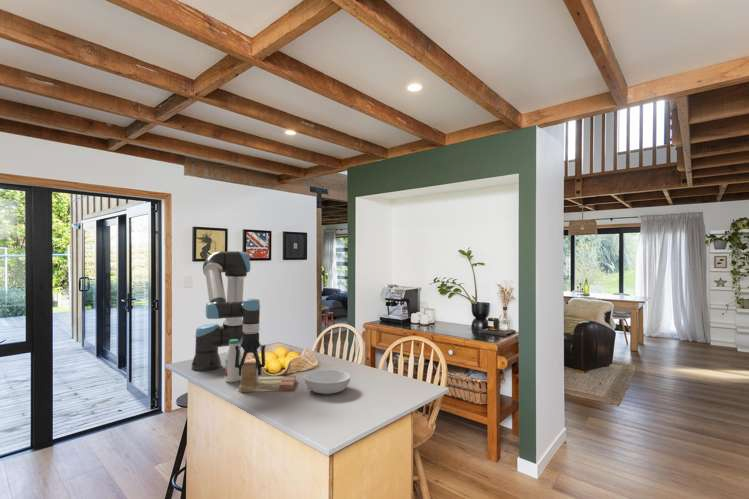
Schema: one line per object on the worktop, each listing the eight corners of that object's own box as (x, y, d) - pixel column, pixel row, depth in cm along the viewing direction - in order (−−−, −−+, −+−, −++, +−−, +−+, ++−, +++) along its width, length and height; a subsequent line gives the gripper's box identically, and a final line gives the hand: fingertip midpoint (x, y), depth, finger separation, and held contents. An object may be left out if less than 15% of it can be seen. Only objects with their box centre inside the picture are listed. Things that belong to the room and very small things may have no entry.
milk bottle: (244, 378, 195) (244, 338, 196) (237, 383, 187) (237, 341, 188) (229, 377, 196) (230, 338, 196) (221, 382, 188) (222, 341, 189)
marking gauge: (244, 385, 182) (245, 362, 183) (257, 384, 183) (258, 361, 183) (240, 390, 174) (240, 366, 175) (254, 390, 175) (254, 366, 175)
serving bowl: (343, 400, 166) (343, 384, 166) (297, 396, 170) (297, 381, 170) (355, 385, 186) (355, 371, 186) (313, 382, 190) (314, 368, 190)
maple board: (246, 382, 189) (246, 376, 189) (295, 381, 191) (295, 376, 192) (238, 391, 175) (238, 386, 175) (292, 390, 178) (292, 385, 178)
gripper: (227, 334, 176) (226, 385, 175) (270, 333, 178) (269, 384, 177) (232, 331, 183) (231, 380, 183) (273, 330, 185) (272, 379, 184)
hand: (249, 382), depth 180 cm, fingers closed on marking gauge, 6 cm apart
